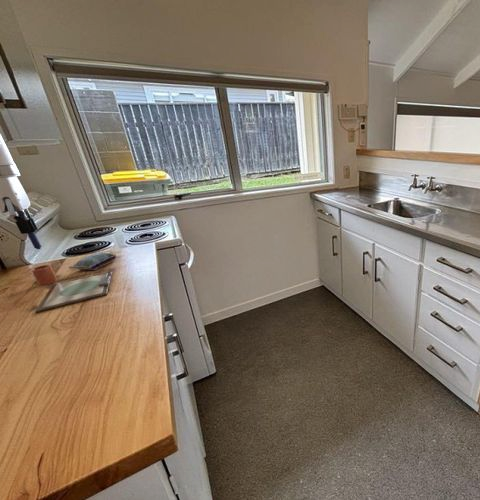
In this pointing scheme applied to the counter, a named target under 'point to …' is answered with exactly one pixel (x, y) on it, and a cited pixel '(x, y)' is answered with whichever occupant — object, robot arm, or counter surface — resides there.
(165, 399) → the counter surface
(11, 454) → the counter surface
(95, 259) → the packaged food
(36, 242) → the pen
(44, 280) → the pen cup
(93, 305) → the counter surface
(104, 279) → the clipboard
